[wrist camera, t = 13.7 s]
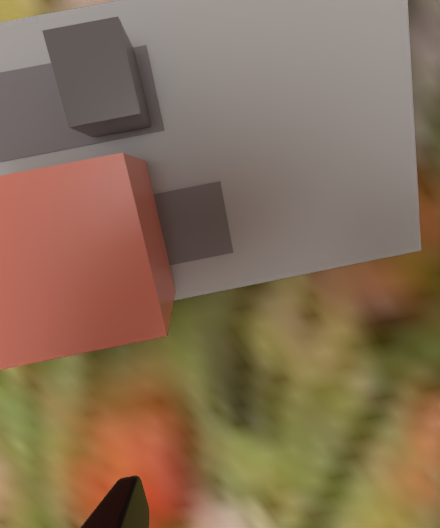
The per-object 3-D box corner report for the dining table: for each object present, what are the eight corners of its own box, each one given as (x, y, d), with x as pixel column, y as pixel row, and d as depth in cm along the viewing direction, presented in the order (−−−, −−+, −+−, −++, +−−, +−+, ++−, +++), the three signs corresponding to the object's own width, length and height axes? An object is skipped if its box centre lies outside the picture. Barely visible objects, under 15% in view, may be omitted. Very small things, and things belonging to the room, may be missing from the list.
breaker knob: (134, 49, 14) (118, 16, 12) (151, 126, 15) (140, 113, 12) (73, 61, 14) (42, 30, 12) (93, 137, 15) (68, 127, 12)
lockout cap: (146, 161, 16) (122, 152, 11) (175, 291, 17) (167, 336, 12) (7, 187, 16) (-80, 190, 11) (49, 316, 17) (-11, 371, 12)
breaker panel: (389, -36, 16) (413, -63, 14) (407, 246, 19) (429, 253, 17) (-104, 56, 15) (-142, 40, 14) (-3, 329, 18) (-24, 344, 17)
